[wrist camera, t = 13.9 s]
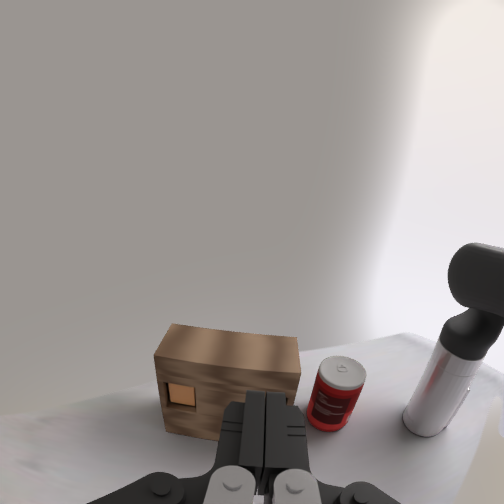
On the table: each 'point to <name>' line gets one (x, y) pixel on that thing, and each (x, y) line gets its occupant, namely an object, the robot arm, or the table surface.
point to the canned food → (335, 392)
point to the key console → (220, 374)
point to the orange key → (182, 394)
